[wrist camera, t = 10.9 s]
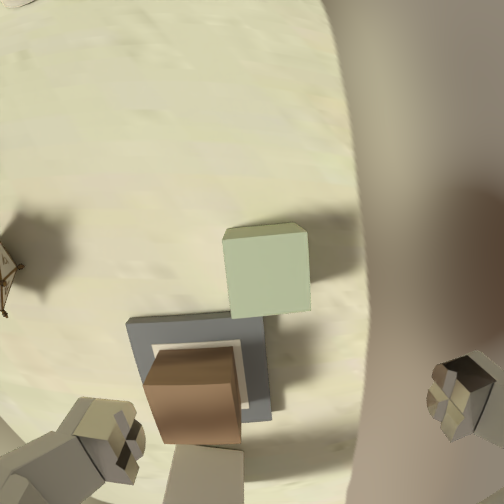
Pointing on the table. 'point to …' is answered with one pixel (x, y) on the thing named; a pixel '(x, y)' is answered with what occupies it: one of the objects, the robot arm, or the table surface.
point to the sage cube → (267, 270)
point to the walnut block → (195, 396)
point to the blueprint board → (210, 336)
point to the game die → (6, 276)
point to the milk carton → (205, 476)
